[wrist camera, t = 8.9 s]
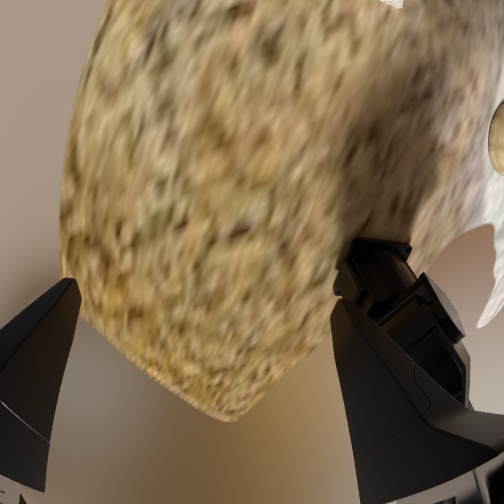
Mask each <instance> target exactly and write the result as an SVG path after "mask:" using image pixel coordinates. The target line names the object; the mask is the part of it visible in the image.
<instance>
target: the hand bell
mask: <svg viewBox="0 0 504 504" xmlns="http://www.w3.org/2000/svg"><path fill="white" fill-rule="evenodd" d="M489 154H490V159H491V162H492V165H493V167H494V168H495V170H496V171H497V172H498V173H499V174H501V175H503V176H504V103H503V104H502V105H501V106H500V107H499V108H498V110H497V111H496V114H495V116H494V118H493V121H492V124H491V128H490V133H489Z"/></svg>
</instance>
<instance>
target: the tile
mask: <svg viewBox="0 0 504 504" xmlns="http://www.w3.org/2000/svg"><path fill="white" fill-rule="evenodd" d="M380 1H382V2H384V3H387V4H389V5H391V6H394V7H396V8H402V4H403V0H380Z"/></svg>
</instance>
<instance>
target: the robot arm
mask: <svg viewBox="0 0 504 504" xmlns="http://www.w3.org/2000/svg"><path fill="white" fill-rule="evenodd" d="M357 243H359V244H358V245H356V244H357ZM407 248H408V249H407ZM411 251H412V247H411V245H410V244H408V243H401V242H393V241H385V240H376V239H368V238H355V239H354V240H353V241H352V244H351V247H350V249H349V252H348V254H347V257H346V259H345V260H344V261H343V264H342V266H341V269H340V271H339V274H338V276H337V279H336V284H335V286H334V289H333V292H334V294H335V295H336V296H342V298H341V299H338V301H337V302H336V305H335V307H334V309H333V311H332V313H331V316H330V323H331V331H332V340H333V349H334V358H335V363H336V367H337V372H338V377H339V382H340V386H341V391H342V396H343V401H344V406H345V411H346V417H347V422H348V427H349V433H350V438H351V444H352V450H353V456H354V460H355V461H354V463H355V469H356V475H357V483H358V490H359V497H360V503H361V504H386V503H390V502H393V501H396V503H397V504H504V415H501V414H493V413H486V412H479V411H474V409H473V407H472V405H471V403H470V400H469V388H470V387H469V386H470V356H469V354H468V352H467V350H466V349H465V347H464V345H463V343H462V342H461V339H462V338H464V337H465V336H466V335H465V332H464V329H463V326H462V323H461V320H460V318H459V315H458V313H457V311H456V309H455V308H454V306H453V305H452V303H451V302H450V300H449V299H448V297H447V296H446V295H445V293H444V292H443V291H442V290H441V289H440V288H439V287H438V286H437V285H436V284H435V283H434V282H433V281H432V280H431V279H430V277H429V276H428V275H426V273H425V272H423V273H422V274H421V275H420V276H419V278H417V277H416V275H415V274H414V272H413V271H412V269H411V268H410V266H409V265H408V263H407V262H406V261H407V259H408V257H409V255H410V253H411ZM338 290H339V291H338ZM81 300H82V298H81V293H80V290H79V287H78V284H77V281H76V279H74V278H67V277H66V278H63V279H62V280H61V281H59V282H58V283H57V284H55V285H54V286H53V287H51V289H49V290H48V291H46V292H45V293H44V294H43V295H41V296H40V297H39V298H37V299H36V300H35V301H34V302H32V303H31V304H30V305H29V306H28V307H26V308H25V309H24V310H23V311H22V312H20V313H19V314H18V315H17V316H16V317H14V318H13V319H12V320H11V321H10V322H9V323H7V324H6V325H5V326H4V327H3V328H2V329H0V504H26V502H25V500H24V498H23V497H22V495H21V493H20V488H21V485H24V486H26V487H29V488H31V489H34V490H37V491H39V492H42V493H44V492H45V482H46V470H47V461H48V453H49V446H50V443H49V442H50V438H51V432H52V426H53V420H54V415H55V410H56V405H57V400H58V396H59V392H60V387H61V383H62V379H63V375H64V371H65V367H66V363H67V359H68V356H69V352H70V349H71V346H72V342H73V338H74V334H75V329H76V324H77V319H78V315H79V310H80V306H81Z"/></svg>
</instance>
